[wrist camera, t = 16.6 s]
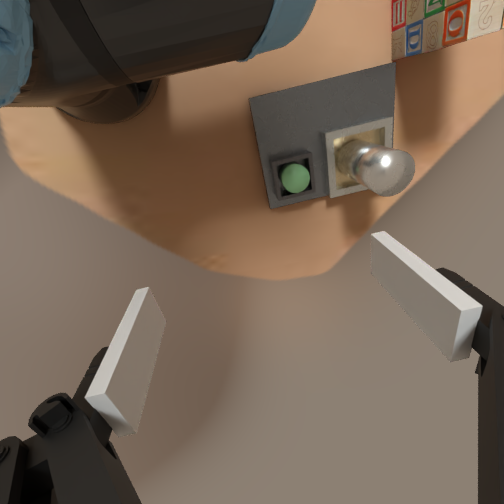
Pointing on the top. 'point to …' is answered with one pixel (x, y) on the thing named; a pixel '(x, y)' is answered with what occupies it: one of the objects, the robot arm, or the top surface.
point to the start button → (294, 177)
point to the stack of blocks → (441, 23)
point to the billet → (377, 167)
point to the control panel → (322, 129)
